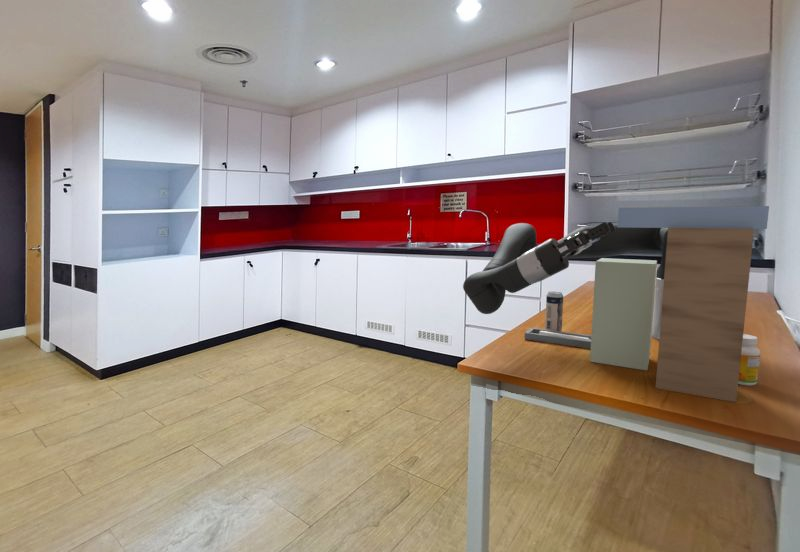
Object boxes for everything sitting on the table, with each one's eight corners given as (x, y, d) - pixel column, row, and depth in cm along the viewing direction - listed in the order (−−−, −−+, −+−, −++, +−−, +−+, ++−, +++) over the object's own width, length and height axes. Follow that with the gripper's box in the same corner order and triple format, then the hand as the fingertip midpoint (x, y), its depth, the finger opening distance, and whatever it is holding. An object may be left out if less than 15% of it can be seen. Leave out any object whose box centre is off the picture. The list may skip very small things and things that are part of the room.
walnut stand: (657, 376, 96) (668, 227, 91) (731, 388, 89) (748, 228, 85) (655, 388, 89) (668, 228, 85) (736, 402, 82) (754, 228, 78)
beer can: (562, 334, 130) (564, 294, 129) (545, 333, 131) (547, 293, 130) (560, 330, 135) (562, 291, 133) (543, 329, 136) (545, 291, 134)
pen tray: (531, 333, 131) (531, 327, 131) (613, 344, 119) (613, 338, 119) (524, 339, 125) (524, 332, 125) (609, 351, 114) (610, 344, 113)
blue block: (619, 227, 95) (620, 208, 94) (763, 228, 82) (765, 206, 81) (617, 227, 91) (618, 207, 91) (766, 228, 79) (769, 206, 78)
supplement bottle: (718, 377, 95) (722, 333, 94) (741, 376, 96) (746, 332, 94) (739, 386, 90) (744, 339, 89) (763, 385, 90) (769, 339, 89)
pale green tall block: (596, 350, 114) (601, 258, 111) (649, 358, 108) (657, 260, 104) (589, 361, 105) (595, 261, 102) (647, 370, 99) (655, 264, 96)
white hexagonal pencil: (598, 350, 117) (539, 340, 127) (600, 345, 119) (541, 335, 128) (597, 343, 116) (538, 333, 126) (599, 338, 117) (540, 328, 127)
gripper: (557, 273, 107) (624, 240, 98) (542, 280, 95) (616, 243, 86) (542, 245, 108) (606, 210, 99) (525, 249, 96) (596, 209, 87)
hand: (611, 225), depth 93 cm, fingers open, 8 cm apart
